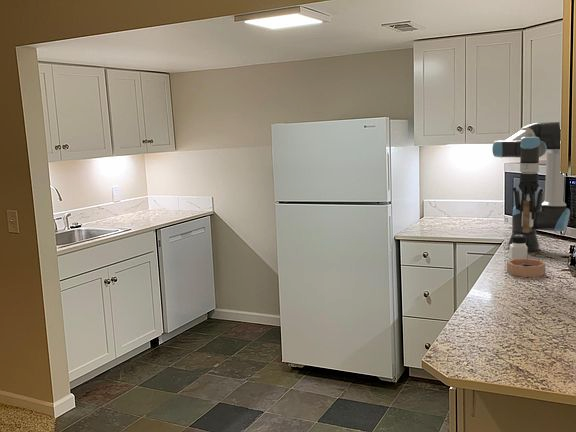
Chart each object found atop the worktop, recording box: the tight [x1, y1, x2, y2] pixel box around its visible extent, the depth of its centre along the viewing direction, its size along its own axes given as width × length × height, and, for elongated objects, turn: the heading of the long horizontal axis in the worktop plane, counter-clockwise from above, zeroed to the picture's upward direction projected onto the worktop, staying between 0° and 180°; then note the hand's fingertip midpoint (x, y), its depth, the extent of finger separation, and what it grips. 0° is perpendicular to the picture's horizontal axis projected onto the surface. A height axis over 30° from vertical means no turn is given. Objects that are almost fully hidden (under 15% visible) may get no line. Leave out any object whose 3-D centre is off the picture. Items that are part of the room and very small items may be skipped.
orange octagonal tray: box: [506, 258, 546, 278], centre depth 262 cm, size 15×15×4 cm
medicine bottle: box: [508, 235, 529, 261], centre depth 284 cm, size 7×7×12 cm
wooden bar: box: [522, 199, 532, 233], centre depth 258 cm, size 4×2×14 cm, turn 136°
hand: (527, 226), depth 259 cm, fingers closed on wooden bar, 2 cm apart
